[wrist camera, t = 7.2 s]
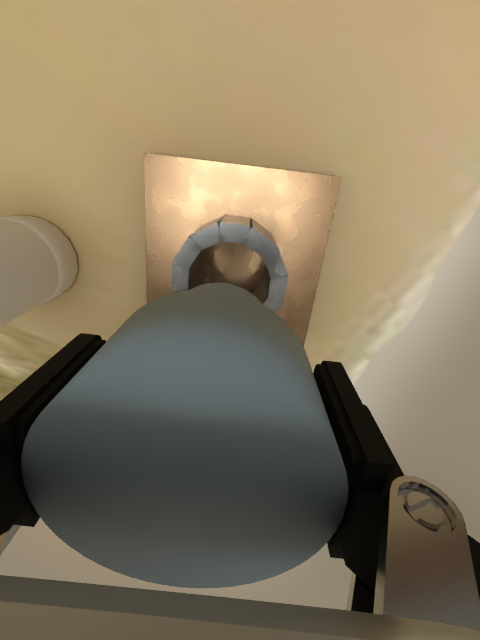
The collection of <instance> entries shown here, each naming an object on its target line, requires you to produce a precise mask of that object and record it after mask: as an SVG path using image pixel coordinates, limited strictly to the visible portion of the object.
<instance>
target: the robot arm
mask: <svg viewBox="0 0 480 640" xmlns="http://www.w3.org/2000/svg"><path fill="white" fill-rule="evenodd" d="M105 343H106V341H105V340H102V338H101V336H99V335H92V334H83V333H81V334H79V335H78V336H77V337H75V338H74V339H73V340H72V341H71V342H69V343H68V344H67V345H66V346H65V347H64V348H62V349H61V350H60V351H59V352H58V353H56V354H55V355H54V356H53V357H52V358H51V359H49V360H48V361H47V362H46V363H45V364H44V365H42V366H41V367H40V368H39V369H38V370H36V371H35V372H34V373H33V374H32V375H31V376H29V377H28V378H27V379H26V380H25V381H24V382H22V383H21V384H20V385H19V386H18V387H16V388H15V389H14V390H13V391H12V392H11V393H9V394H8V395H7V396H6V397H5V398H4V399H2V400H1V401H0V556H1V554H2V552H3V551H4V550H5V548H6V546H7V545H8V544H9V542H10V541H11V539H12V538H13V536H14V535H15V534H16V532H17V531H18V529H19V527H20V526H31V527H34V526H35V524H36V523H37V521H38V520H39V518H40V516H39V514H38V513H37V512H36V510H35V508H34V506H33V505H32V503H31V501H30V499H29V497H28V494H27V491H26V489H25V486H24V482H23V476H22V471H21V461H22V451H23V446H24V442H25V439H26V437H27V434H28V432H29V430H30V428H31V426H32V424H33V423H34V421H35V420H36V418H37V417H38V416H39V414H40V413H41V412H42V410H43V409H44V408H45V407H46V406H47V405H48V404H49V403H50V402H51V401H52V400H53V399H54V398H55V397H56V395H57V394H58V393H59V392H60V391H61V390H62V389H63V388H64V387H65V386H66V385H67V384H68V383H69V381H70V380H71V379H72V378H73V377H74V376H75V375H76V374H77V373H78V372H79V371H80V370H81V369H82V368H83V366H84V365H85V364H86V363H87V362H88V361H89V360H90V359H91V358H92V357H93V356H94V355H95V354H96V353H97V351H98V350H99V349H100V348H101V347H102V346H103V345H104V344H105ZM313 375H314V378H315V381H316V384H317V387H318V390H319V393H320V396H321V398H322V401H323V404H324V407H325V410H326V413H327V416H328V419H329V422H330V425H331V428H332V431H333V433H334V436H335V439H336V442H337V445H338V448H339V451H340V454H341V457H342V460H343V463H344V466H345V469H346V473H347V480H348V499H347V505H346V509H345V512H344V516H343V518H342V520H341V522H340V524H339V526H338V528H337V530H336V531H335V533H334V534H333V535H332V537H331V538H330V540H329V541H328V542H327V544H328V549H329V554H330V557H333V558H342V559H344V561H345V565H346V566H347V567H348V568H349V569H350V570H351V571H352V575H351V582H350V588H349V595H348V602H347V608H346V610H338V609H329V608H320V607H310V606H300V605H292V604H282V603H273V602H263V601H254V600H245V599H244V600H243V599H235V598H226V597H216V596H206V595H196V594H186V593H177V592H167V591H157V590H146V589H137V588H127V587H116V586H107V585H96V584H87V583H76V582H66V581H56V580H45V579H35V578H24V577H13V576H3V575H0V640H480V543H479V542H477V541H476V540H475V539H473V538H471V537H470V536H469V535H468V534H467V530H466V525H465V521H464V519H463V516H462V513H461V512H460V510H459V509H458V507H457V506H456V504H455V503H454V502H453V501H452V500H451V499H450V498H449V497H448V496H447V495H446V494H445V493H444V492H443V491H441V490H440V489H439V488H438V487H436V486H435V485H433V484H431V483H429V482H427V481H425V480H423V479H420V478H417V477H414V476H404V474H403V472H402V471H401V468H400V467H399V465H398V463H397V461H396V459H395V457H394V455H393V454H392V452H391V450H390V448H389V446H388V444H387V442H386V440H385V439H384V437H383V435H382V433H381V431H380V429H379V427H378V425H377V424H376V422H375V420H374V418H373V416H372V414H371V412H370V410H369V409H368V408H367V406H365V405H363V404H362V402H361V400H360V398H359V396H358V394H357V392H356V391H355V388H354V386H353V385H352V383H351V381H350V379H349V377H348V375H347V373H346V371H345V369H344V367H343V365H342V364H341V363H340V362H332V361H322V363H321V365H320V364H317V365H316V366H315V369H314V373H313Z"/></svg>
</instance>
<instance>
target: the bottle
mask: <svg viewBox="0 0 480 640" xmlns="http://www.w3.org/2000/svg"><path fill="white" fill-rule="evenodd" d="M77 271H78V264H77V257H76V253H75V251H74V249H73V247H72V245H71V243H70V241H69V239H68V238H67V237H66V236H65V235H64V234H63V233H62V232H61V231H60V229H59V228H57V227H56V226H54V225H52V224H51V223H49V222H48V221H46V220H45V219H41V218H37V217H33V216H30V215H29V216H8V217H0V326H2V325H4V324H6V323H7V322H9V321H11V320H13V319H15V318H16V317H18V316H20V315H22V314H24V313H26V312H27V311H29V310H31V309H33V308H35V307H37V306H39V305H42V304H44V303H46V302H48V301H50V300H52V299H54V298H56V297H57V296H59V295H60V294H62V292H64V291H66V290H68V289H69V287H70V286H71V285H72V284H73V282H74V281H75V279H76V275H77Z"/></svg>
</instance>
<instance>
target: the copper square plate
mask: <svg viewBox="0 0 480 640" xmlns="http://www.w3.org/2000/svg"><path fill="white" fill-rule="evenodd" d="M144 165H145V218H146V272H147V304H148V303H150V302H152V301H154V300H156V299H158V298H160V297H163V296H166V295H169V294H172V293H177V292H181V291H187V290H191V289H193V288H195V287H197V286H200V285H203V284H208V283H228V284H233V285H236V286H239V287H241V288H243V289H245V290H247V291H249V292H250V293H252V294H253V295H254V296H255V297H257V298H258V300H259V301H260V302H261V303H262V304H263V306H265V307H266V308H268V309H270V310H271V311H273V312H274V313H275V314H276V315H278V316H279V317H280V318H281V319H283V320H284V321H285V322H286V324H287V325H288V326H289V327H290V328H291V329H292V330H293V331H294V333H295V334H296V336H297V337H298V339H299V340H300V342H301V344H302V346H303V347H304V342H305V338H306V333H307V329H308V324H309V320H310V315H311V311H312V307H313V302H314V298H315V293H316V289H317V284H318V280H319V275H320V271H321V267H322V262H323V258H324V253H325V249H326V244H327V240H328V236H329V231H330V227H331V222H332V218H333V213H334V209H335V204H336V200H337V196H338V191H339V187H340V182H341V178H342V177H337V176H329V175H321V174H313V173H305V172H296V171H288V170H280V169H272V168H264V167H255V166H247V165H239V164H231V163H223V162H214V161H206V160H198V159H190V158H182V157H173V156H165V155H157V154H149V153H144Z"/></svg>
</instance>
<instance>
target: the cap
mask: <svg viewBox="0 0 480 640" xmlns="http://www.w3.org/2000/svg"><path fill="white" fill-rule="evenodd" d="M21 471H22V476H23V482H24V486H25V489H26V491H27V494H28V497H29V499H30V501H31V503H32V505H33V506H34V508H35V510H36V512H37V513H38V514H39V516H40V517H41V518H42V520H43V521H44V522H45V524H46V525H47V526H48V527H49V528H50V529H51V530H52V531H53V532H54V533H55V534H56V535H57V536H58V537H59V538H60V539H62V540H63V541H64V542H65V543H66V544H67V545H69V546H70V547H71V548H73V549H74V550H76V551H77V552H79V553H80V554H82V555H83V556H85V557H87V558H89V559H90V560H92V561H94V562H96V563H98V564H100V565H102V566H104V567H107V568H109V569H111V570H113V571H115V572H119V573H121V574H124V575H127V576H129V577H133V578H137V579H140V580H143V581H147V582H152V583H157V584H162V585H169V586H176V587H188V588H220V587H232V586H238V585H244V584H250V583H254V582H257V581H261V580H265V579H268V578H271V577H274V576H276V575H279V574H282V573H284V572H286V571H288V570H290V569H292V568H294V567H296V566H298V565H299V564H301V563H303V562H304V561H306V560H307V559H309V558H310V557H311V556H313V555H314V554H315V553H317V552H318V551H319V550H320V549H321V548H322V547H323V546H324V545H325V544H326V543H327V542H328V541H329V540H330V538H331V537H332V535H333V534H334V533H335V531H336V530H337V528H338V526H339V524H340V522H341V520H342V518H343V516H344V512H345V509H346V505H347V499H348V480H347V473H346V469H345V466H344V463H343V460H342V457H341V454H340V451H339V448H338V445H337V442H336V439H335V436H334V433H333V431H332V428H331V425H330V422H329V419H328V416H327V413H326V410H325V407H324V404H323V401H322V398H321V396H320V393H319V390H318V387H317V384H316V381H315V378H314V375H313V372H312V369H311V366H310V363H309V361H308V358H307V355H306V352H305V350H304V348H303V346H302V344H301V342H300V340H299V339H298V337H297V336H296V334H295V333H294V331H293V330H292V329H291V328H290V327H289V326H288V325H287V324H286V322H285V321H284V320H283V319H281V318H280V317H279V316H278V315H276V314H275V313H274V312H273V311H271V310H270V309H268V308H266V307H265V306H263V304H262V303H261V302H260V301H259V300H258V298H257V297H255V296H254V295H253V294H252V293H250V292H249V291H247V290H245V289H243V288H241V287H239V286H236V285H233V284H228V283H208V284H203V285H200V286H197V287H195V288H193V289H191V290H187V291H181V292H177V293H172V294H169V295H166V296H163V297H160V298H158V299H156V300H154V301H152V302H150V303H148V304H146V305H144V306H143V307H142V308H140V309H139V310H137V311H136V312H135V313H134V314H133V315H132V316H131V317H130V318H128V319H127V320H126V321H125V322H124V324H123V325H122V326H121V327H120V328H119V329H118V330H117V331H116V332H115V333H114V334H113V335H112V336H111V337H110V339H109V340H108V341H107V342H106V343H105V344H104V345H103V346H102V347H101V348H100V349H99V350H98V351H97V353H96V354H95V355H94V356H93V357H92V358H91V359H90V360H89V361H88V362H87V363H86V364H85V365H84V366H83V368H82V369H81V370H80V371H79V372H78V373H77V374H76V375H75V376H74V377H73V378H72V379H71V380H70V381H69V383H68V384H67V385H66V386H65V387H64V388H63V389H62V390H61V391H60V392H59V393H58V394H57V395H56V397H55V398H54V399H53V400H52V401H51V402H50V403H49V404H48V405H47V406H46V407H45V408H44V409H43V410H42V412H41V413H40V414H39V416H38V417H37V418H36V420H35V421H34V423H33V424H32V426H31V428H30V430H29V432H28V434H27V437H26V439H25V442H24V446H23V451H22V461H21Z"/></svg>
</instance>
